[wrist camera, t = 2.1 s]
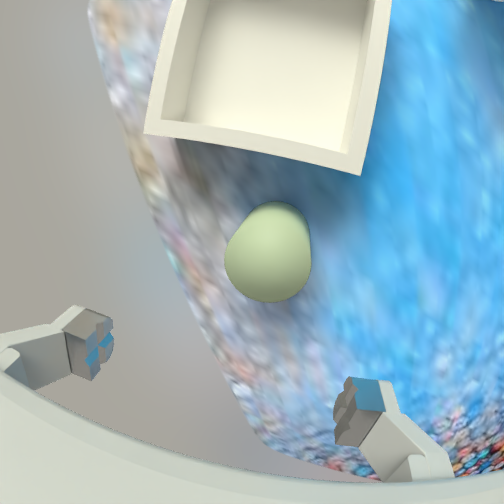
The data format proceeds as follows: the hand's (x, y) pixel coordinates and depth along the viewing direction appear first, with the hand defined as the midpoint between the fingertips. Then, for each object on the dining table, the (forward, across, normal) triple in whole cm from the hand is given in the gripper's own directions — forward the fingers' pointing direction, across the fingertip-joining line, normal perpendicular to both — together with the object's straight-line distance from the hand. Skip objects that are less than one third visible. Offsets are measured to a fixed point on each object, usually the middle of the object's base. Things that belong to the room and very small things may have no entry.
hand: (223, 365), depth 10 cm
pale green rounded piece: (+15, -1, 0) cm, 15 cm away
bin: (+15, +2, -13) cm, 20 cm away
